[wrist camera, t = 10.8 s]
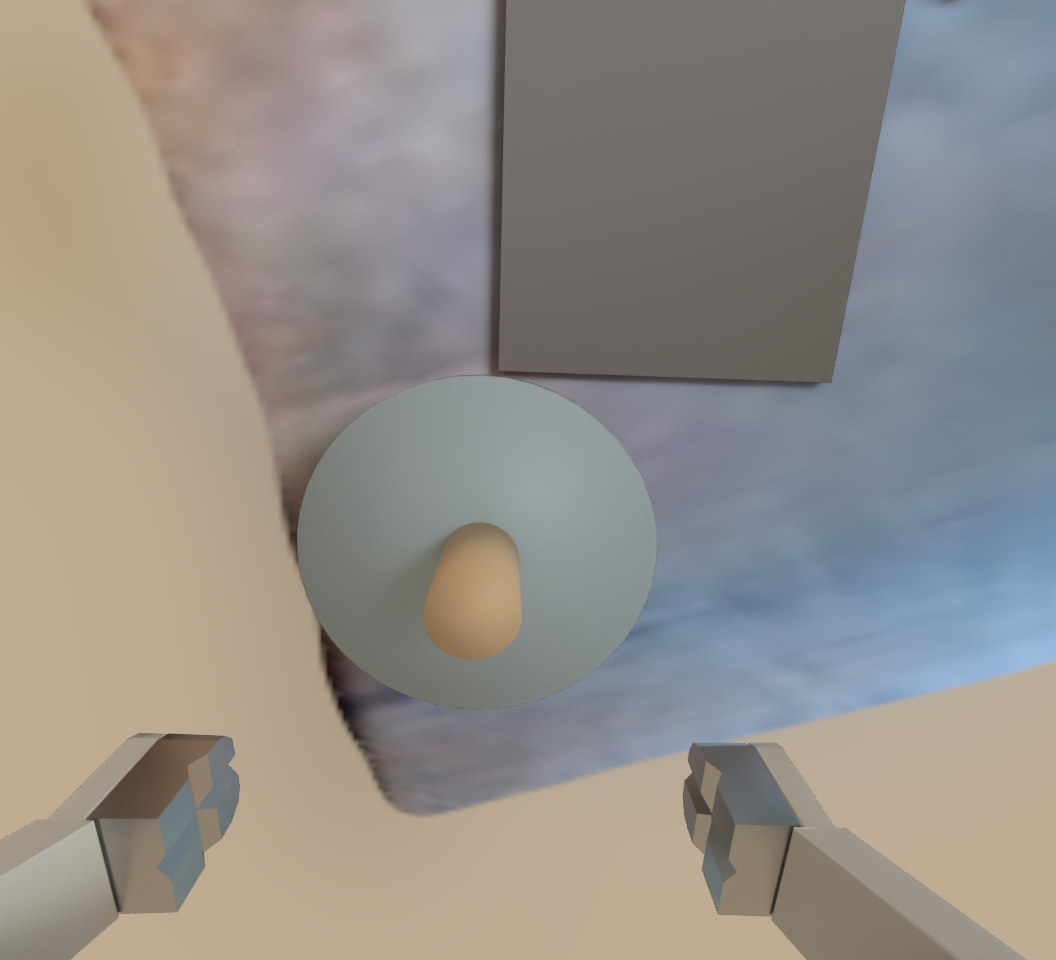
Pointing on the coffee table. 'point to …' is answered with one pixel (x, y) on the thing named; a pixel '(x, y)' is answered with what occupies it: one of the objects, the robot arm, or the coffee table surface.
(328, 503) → the lid
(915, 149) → the coffee table surface
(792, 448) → the coffee table surface
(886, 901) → the robot arm
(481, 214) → the coffee table surface
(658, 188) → the mat
